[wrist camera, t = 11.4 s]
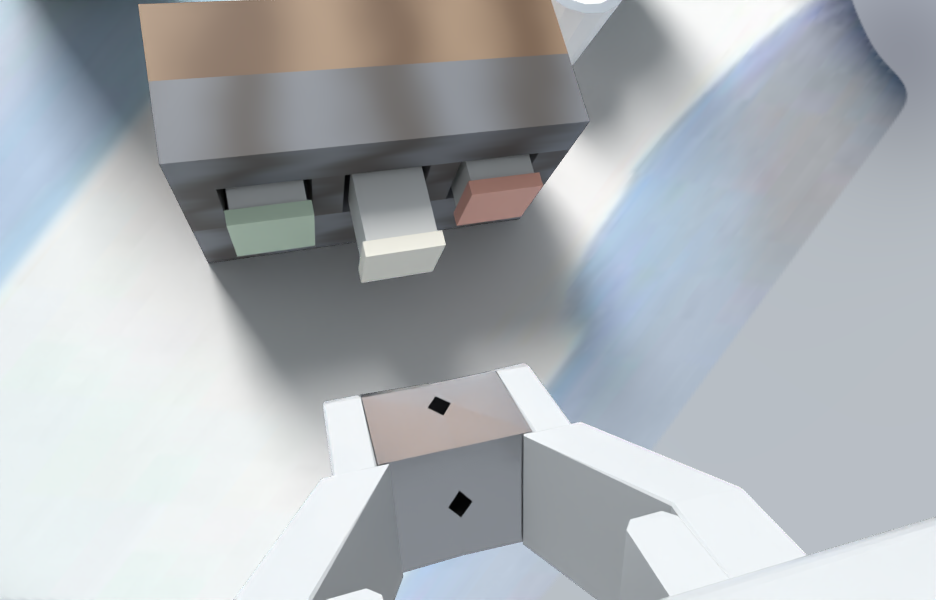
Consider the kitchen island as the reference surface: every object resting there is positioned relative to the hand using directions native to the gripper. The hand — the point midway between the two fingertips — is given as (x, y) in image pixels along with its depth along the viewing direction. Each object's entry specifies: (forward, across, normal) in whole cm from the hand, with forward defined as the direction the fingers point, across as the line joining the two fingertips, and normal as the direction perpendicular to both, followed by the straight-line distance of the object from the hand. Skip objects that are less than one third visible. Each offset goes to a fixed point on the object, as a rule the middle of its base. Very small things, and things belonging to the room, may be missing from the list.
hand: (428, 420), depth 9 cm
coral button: (+27, +9, -5) cm, 29 cm away
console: (+33, +3, -5) cm, 34 cm away
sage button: (+27, -3, -5) cm, 27 cm away
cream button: (+25, +3, -6) cm, 26 cm away
